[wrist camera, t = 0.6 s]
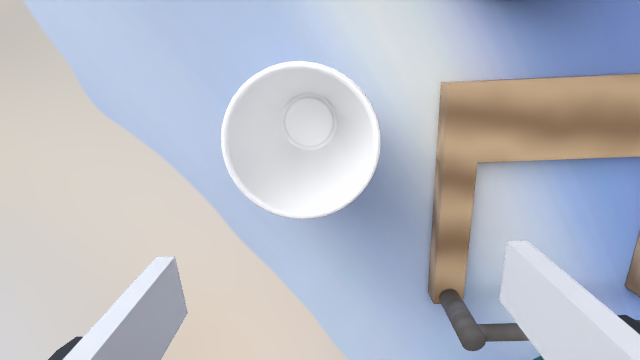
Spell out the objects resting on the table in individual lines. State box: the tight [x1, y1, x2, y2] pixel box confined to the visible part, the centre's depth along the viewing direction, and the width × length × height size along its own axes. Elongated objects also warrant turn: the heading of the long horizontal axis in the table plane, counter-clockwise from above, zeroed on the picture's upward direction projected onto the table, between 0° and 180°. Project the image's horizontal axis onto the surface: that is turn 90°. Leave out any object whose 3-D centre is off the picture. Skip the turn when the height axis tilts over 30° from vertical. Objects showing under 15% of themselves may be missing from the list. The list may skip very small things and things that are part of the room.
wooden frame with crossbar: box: [428, 73, 640, 351], centre depth 29 cm, size 22×24×8 cm
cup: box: [221, 61, 381, 219], centre depth 26 cm, size 10×10×11 cm
